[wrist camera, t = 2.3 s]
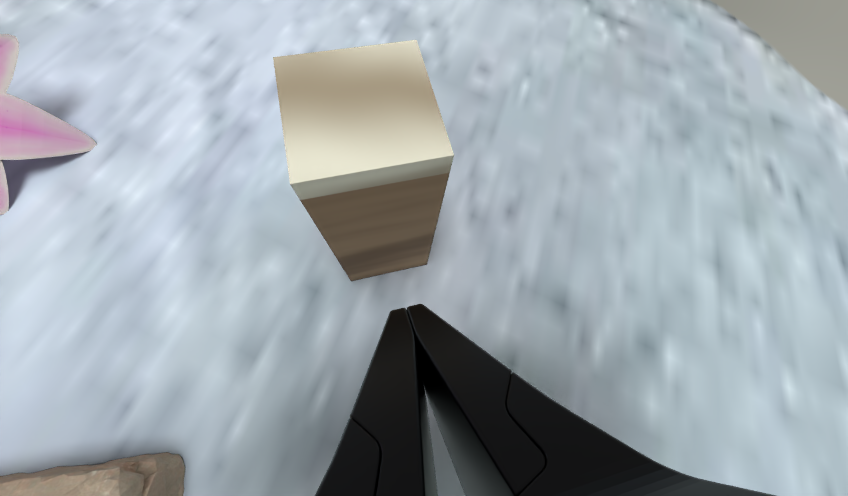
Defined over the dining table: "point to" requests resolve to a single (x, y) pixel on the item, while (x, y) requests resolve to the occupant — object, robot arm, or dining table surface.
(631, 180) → the dining table surface
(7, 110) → the lily
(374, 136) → the walnut block
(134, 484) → the brick
